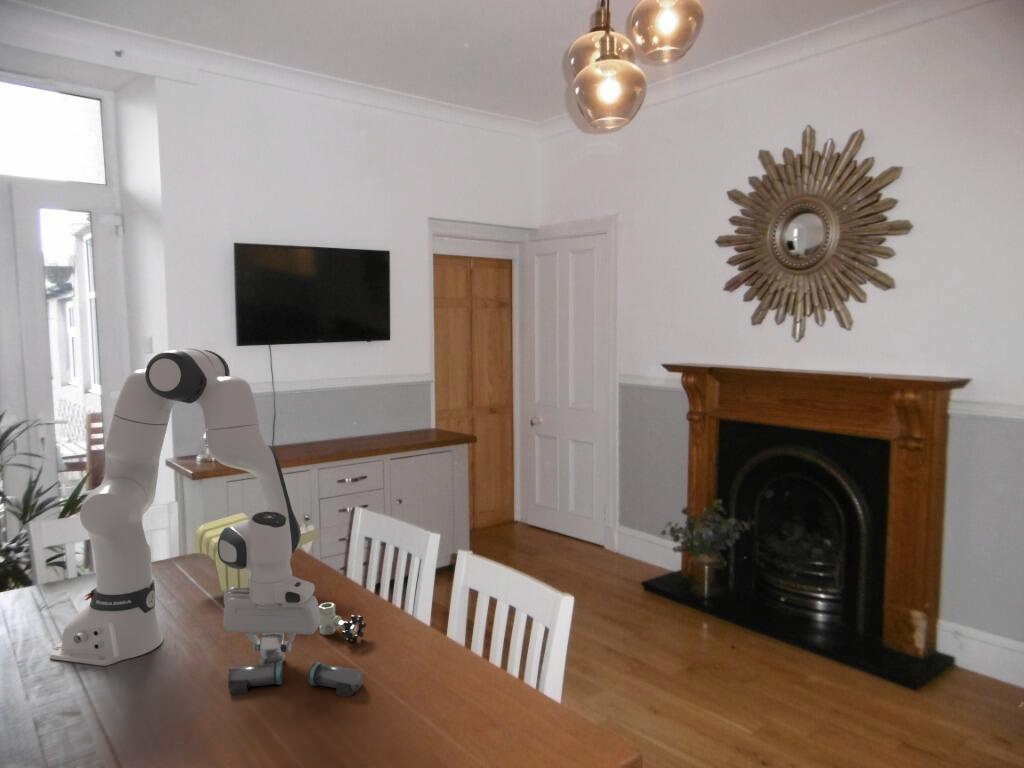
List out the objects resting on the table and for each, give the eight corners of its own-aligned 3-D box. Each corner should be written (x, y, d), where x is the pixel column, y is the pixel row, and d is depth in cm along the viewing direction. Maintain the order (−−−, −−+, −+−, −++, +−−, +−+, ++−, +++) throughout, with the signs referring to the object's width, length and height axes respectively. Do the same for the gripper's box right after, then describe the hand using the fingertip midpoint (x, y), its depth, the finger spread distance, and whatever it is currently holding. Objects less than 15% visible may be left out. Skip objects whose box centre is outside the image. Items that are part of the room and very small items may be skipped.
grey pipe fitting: (228, 695, 143) (227, 674, 142) (232, 682, 148) (231, 662, 147) (281, 689, 145) (280, 668, 145) (283, 677, 150) (282, 656, 149)
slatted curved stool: (197, 590, 197) (194, 526, 195) (245, 572, 210) (242, 512, 209) (273, 613, 182) (271, 544, 180) (320, 592, 195) (318, 528, 193)
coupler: (256, 665, 154) (255, 638, 153) (265, 654, 159) (265, 628, 158) (279, 666, 153) (279, 639, 153) (287, 655, 158) (287, 629, 158)
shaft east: (364, 685, 147) (364, 664, 146) (352, 697, 142) (351, 676, 142) (321, 677, 150) (320, 657, 149) (307, 689, 145) (307, 668, 144)
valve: (310, 634, 170) (344, 648, 163) (309, 607, 169) (343, 620, 162) (332, 624, 175) (366, 638, 168) (332, 598, 174) (366, 611, 167)
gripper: (216, 593, 152) (218, 655, 153) (312, 596, 151) (313, 659, 152) (229, 581, 158) (231, 642, 159) (321, 584, 157) (322, 645, 158)
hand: (272, 650), depth 156 cm, fingers closed on coupler, 5 cm apart
